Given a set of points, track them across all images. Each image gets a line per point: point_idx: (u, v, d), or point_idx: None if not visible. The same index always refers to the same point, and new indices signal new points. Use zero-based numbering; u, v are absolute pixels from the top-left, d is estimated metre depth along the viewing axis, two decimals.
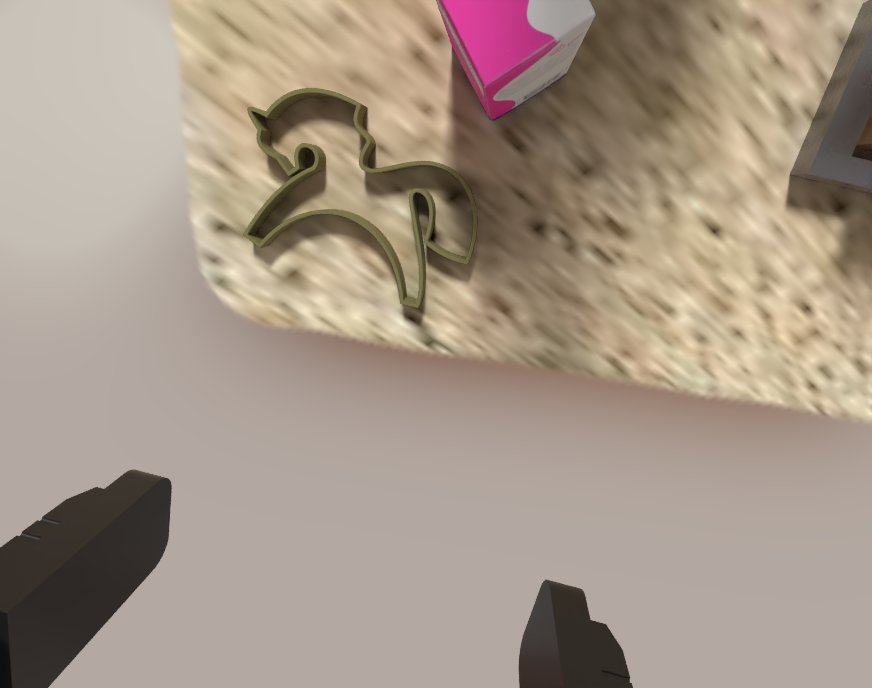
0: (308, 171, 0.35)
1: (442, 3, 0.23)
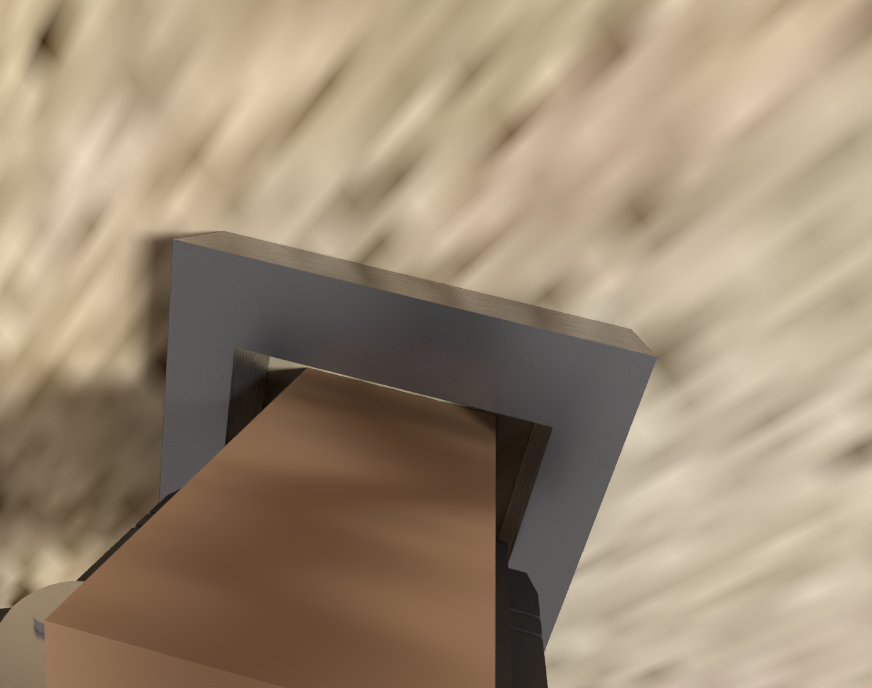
0: None
1: None
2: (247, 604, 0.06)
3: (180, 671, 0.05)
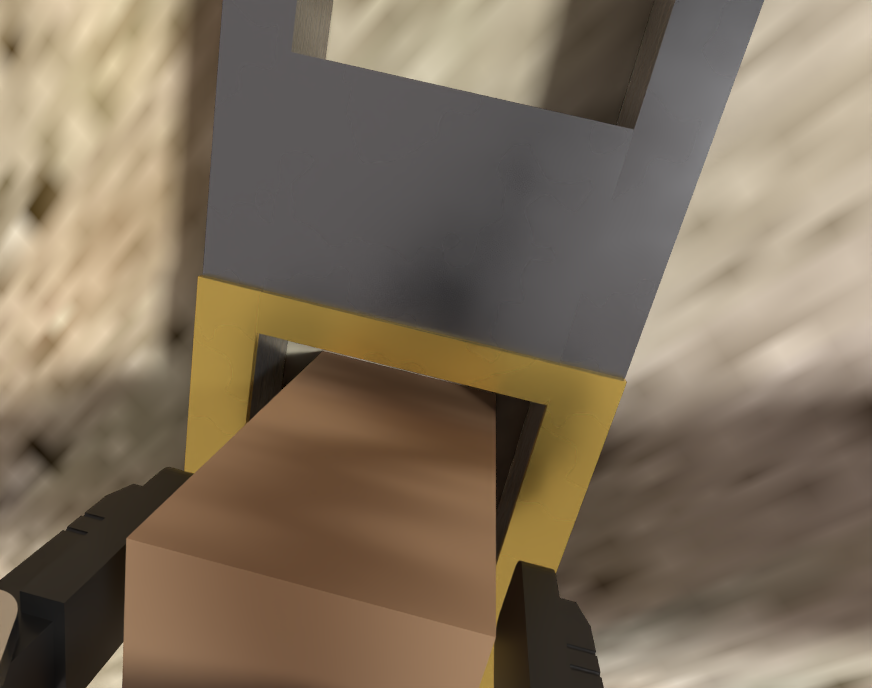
0: None
1: None
2: (288, 532, 0.07)
3: (237, 579, 0.07)
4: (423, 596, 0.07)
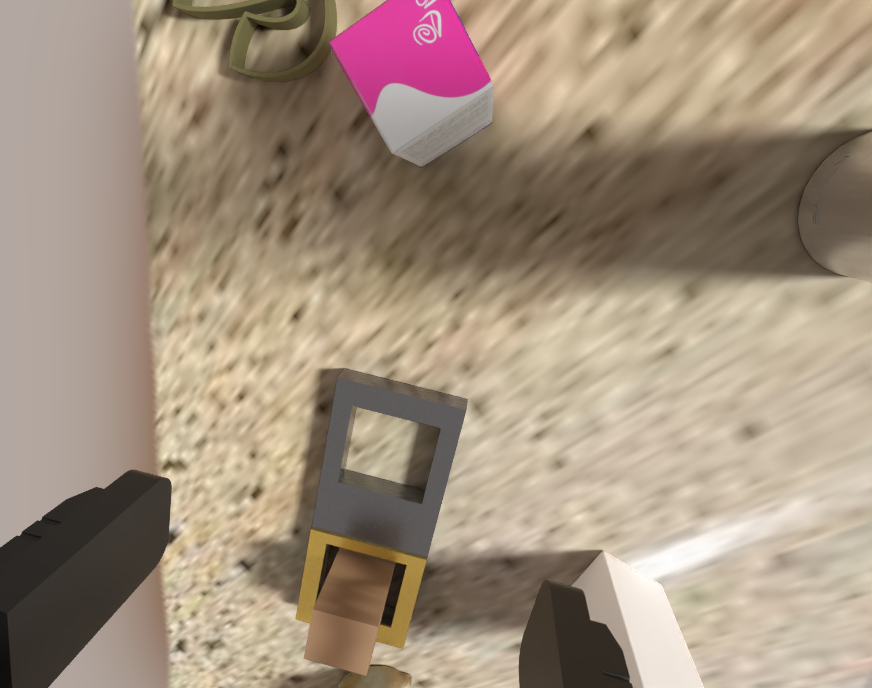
0: None
1: None
2: (340, 606, 0.38)
3: (332, 616, 0.37)
4: (366, 619, 0.38)
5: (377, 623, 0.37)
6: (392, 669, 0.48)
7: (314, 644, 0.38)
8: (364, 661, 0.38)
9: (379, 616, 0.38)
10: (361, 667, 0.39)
